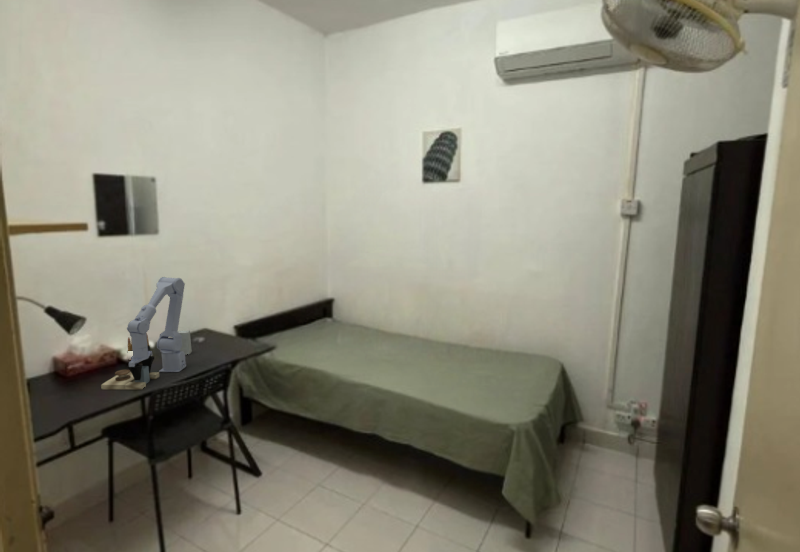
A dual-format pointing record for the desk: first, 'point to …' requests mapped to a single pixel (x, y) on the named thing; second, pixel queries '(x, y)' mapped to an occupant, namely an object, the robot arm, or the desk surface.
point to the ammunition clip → (131, 344)
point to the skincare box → (185, 342)
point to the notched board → (126, 381)
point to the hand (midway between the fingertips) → (142, 376)
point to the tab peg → (144, 374)
